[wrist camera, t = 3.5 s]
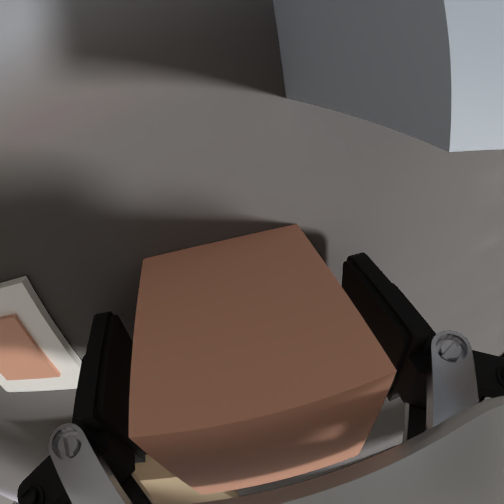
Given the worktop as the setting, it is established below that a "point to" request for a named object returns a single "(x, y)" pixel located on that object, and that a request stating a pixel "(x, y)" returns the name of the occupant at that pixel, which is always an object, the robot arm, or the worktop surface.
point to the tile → (32, 343)
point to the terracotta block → (251, 363)
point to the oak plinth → (172, 485)
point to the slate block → (401, 65)
